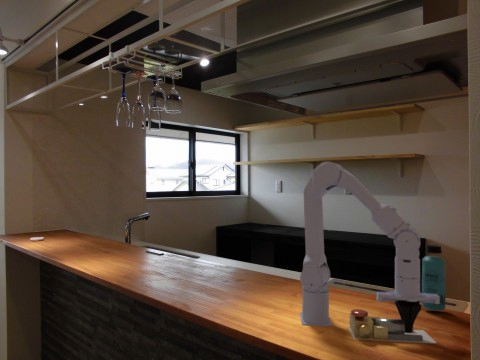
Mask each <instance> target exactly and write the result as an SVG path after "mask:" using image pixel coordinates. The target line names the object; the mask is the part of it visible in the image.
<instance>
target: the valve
mask: <svg viewBox="0 0 480 360" xmlns="http://www.w3.org/2000/svg"><path fill="white" fill-rule="evenodd" d="M376 318H380V316H373V315H372V316H370V315H369V312H368V311H367V310H363V309H359V308H358V309H356V308H355V309H352V310H351V311H350V312H349V327H350V330H351V332H352V333H353V335H354V337H355V338H365V339H367V338H372V339H374V340H373V341H375V340H383V341H382V342H389V341H388V327H387V326H375V319H376ZM350 330H349V331H350ZM351 332H350V333H351Z"/></svg>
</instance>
